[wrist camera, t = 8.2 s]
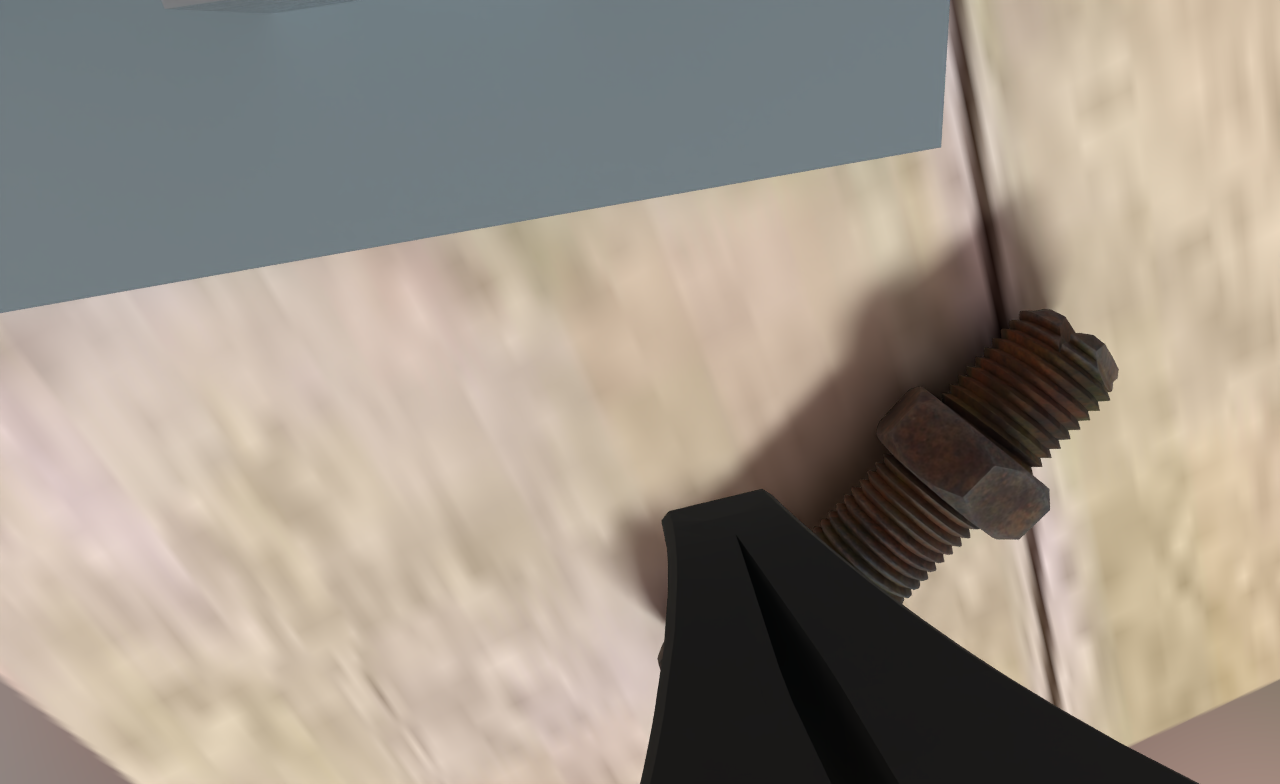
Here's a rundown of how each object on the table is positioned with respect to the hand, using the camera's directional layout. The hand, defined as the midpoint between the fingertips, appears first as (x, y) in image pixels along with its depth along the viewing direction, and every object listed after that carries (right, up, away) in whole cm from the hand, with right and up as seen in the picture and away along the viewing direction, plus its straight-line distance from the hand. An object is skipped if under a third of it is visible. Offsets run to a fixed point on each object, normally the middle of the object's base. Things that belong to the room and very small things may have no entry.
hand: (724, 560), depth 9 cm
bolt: (+6, -1, +14) cm, 15 cm away
